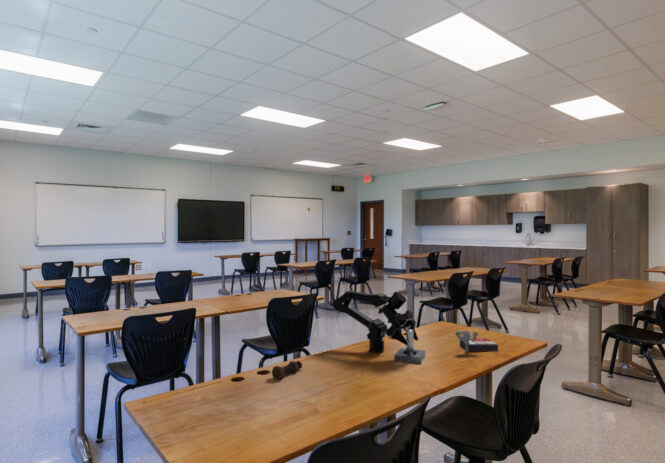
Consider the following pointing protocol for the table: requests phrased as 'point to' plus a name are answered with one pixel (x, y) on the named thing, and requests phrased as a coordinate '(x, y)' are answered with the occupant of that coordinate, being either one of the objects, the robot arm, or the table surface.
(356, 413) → the table surface
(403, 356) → the block
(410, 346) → the axle
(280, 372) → the dark brown knobby piece
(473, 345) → the calculator
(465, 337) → the mechanical component
